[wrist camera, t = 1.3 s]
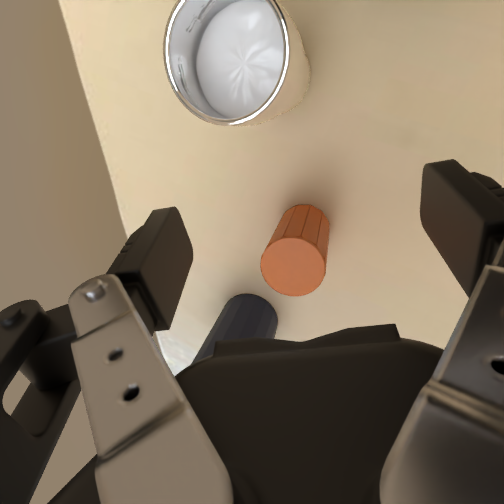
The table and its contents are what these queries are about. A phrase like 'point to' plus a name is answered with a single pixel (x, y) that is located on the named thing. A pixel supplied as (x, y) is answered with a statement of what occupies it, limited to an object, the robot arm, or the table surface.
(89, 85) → the table surface
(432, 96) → the table surface
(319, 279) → the grooved orange cylinder
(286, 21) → the silver metal tumbler
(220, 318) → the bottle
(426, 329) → the table surface
